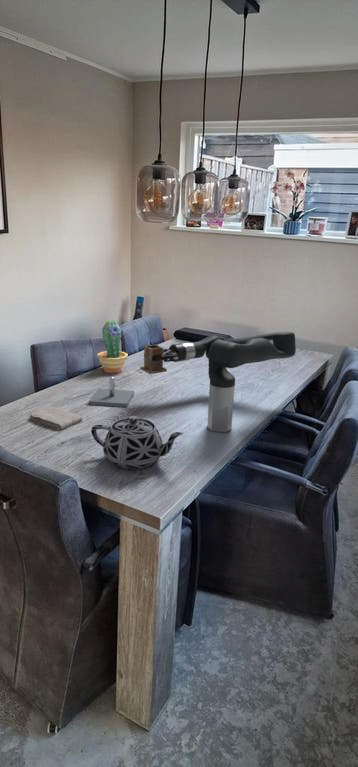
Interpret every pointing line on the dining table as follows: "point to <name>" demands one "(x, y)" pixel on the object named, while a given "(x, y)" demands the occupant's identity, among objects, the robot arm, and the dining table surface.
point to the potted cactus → (112, 348)
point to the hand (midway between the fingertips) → (148, 357)
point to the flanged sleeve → (148, 363)
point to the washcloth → (55, 418)
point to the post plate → (111, 396)
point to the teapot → (133, 443)
